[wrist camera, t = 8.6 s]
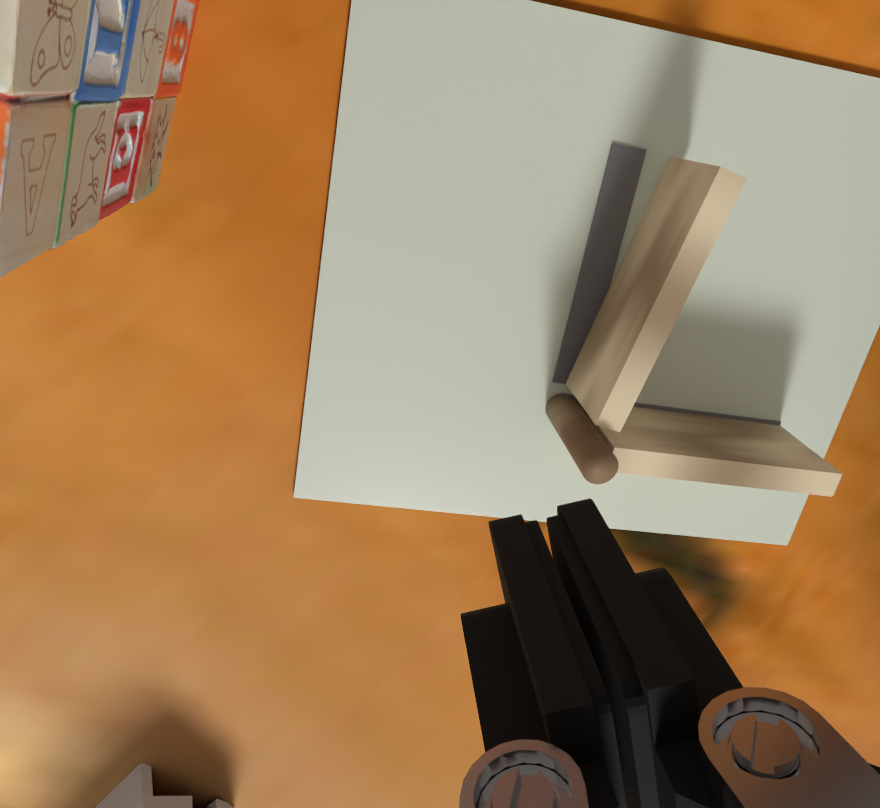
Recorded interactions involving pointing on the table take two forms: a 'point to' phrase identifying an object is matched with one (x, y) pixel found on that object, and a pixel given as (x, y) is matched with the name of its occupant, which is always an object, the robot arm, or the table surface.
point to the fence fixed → (691, 450)
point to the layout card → (575, 257)
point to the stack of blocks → (83, 112)
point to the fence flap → (651, 287)
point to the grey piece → (147, 794)
